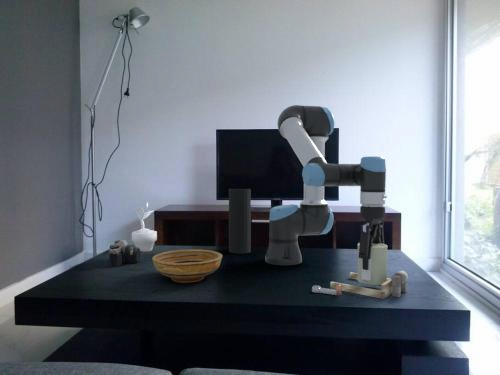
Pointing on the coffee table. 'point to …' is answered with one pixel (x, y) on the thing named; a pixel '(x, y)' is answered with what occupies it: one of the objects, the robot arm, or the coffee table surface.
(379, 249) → the can
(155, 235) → the potted plant
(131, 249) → the camera
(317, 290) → the crank handle
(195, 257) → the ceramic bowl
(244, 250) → the vase
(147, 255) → the coffee table surface
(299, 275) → the coffee table surface
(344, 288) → the wooden frame
